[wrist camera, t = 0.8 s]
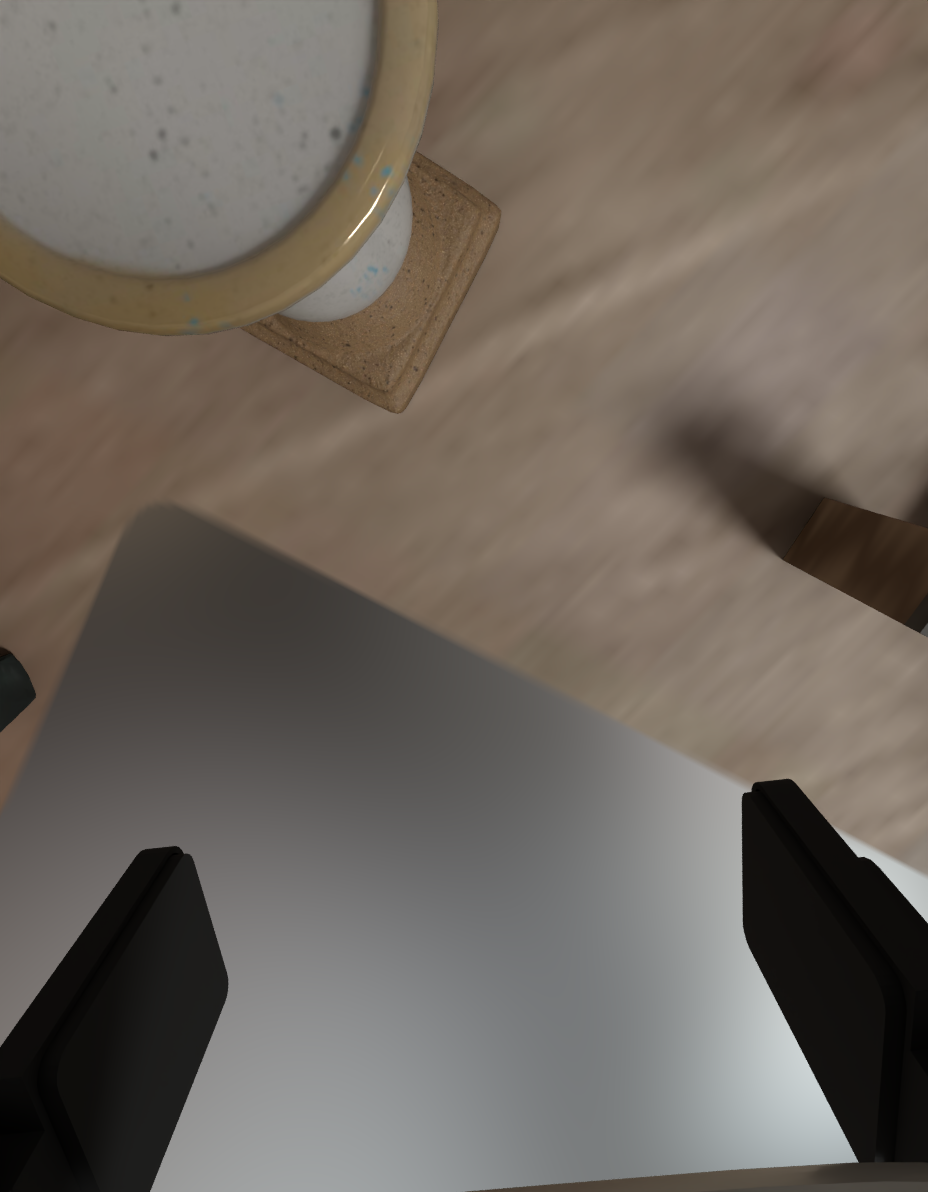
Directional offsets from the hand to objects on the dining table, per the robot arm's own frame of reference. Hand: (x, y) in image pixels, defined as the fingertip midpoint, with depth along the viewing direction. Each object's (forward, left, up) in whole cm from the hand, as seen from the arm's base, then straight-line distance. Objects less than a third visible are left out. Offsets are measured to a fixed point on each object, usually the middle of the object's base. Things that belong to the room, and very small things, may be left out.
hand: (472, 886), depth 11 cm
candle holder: (-10, -11, -28) cm, 32 cm away
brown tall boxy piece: (-9, +19, -28) cm, 35 cm away
